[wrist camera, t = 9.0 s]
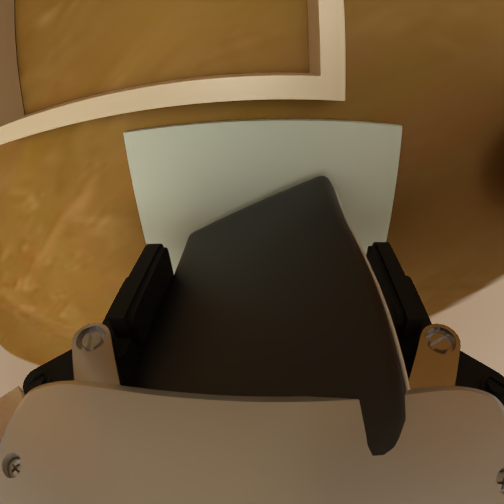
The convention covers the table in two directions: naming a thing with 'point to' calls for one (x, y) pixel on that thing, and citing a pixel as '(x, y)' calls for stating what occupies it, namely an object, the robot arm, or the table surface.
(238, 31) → the table surface
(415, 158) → the table surface
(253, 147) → the mat
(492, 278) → the table surface
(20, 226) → the table surface
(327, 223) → the battery charger
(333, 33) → the case
